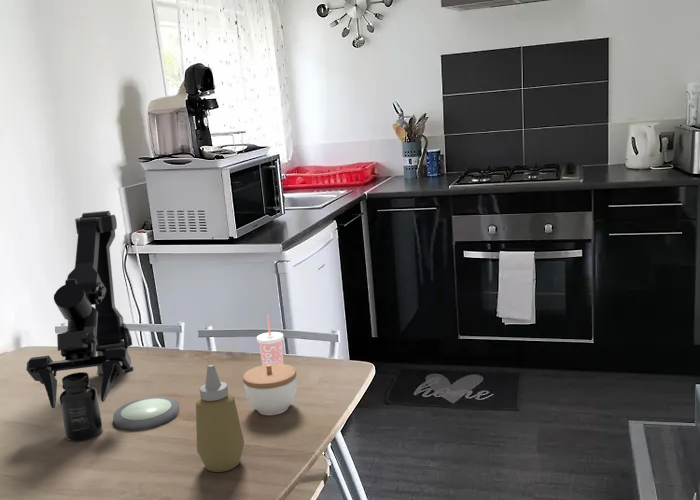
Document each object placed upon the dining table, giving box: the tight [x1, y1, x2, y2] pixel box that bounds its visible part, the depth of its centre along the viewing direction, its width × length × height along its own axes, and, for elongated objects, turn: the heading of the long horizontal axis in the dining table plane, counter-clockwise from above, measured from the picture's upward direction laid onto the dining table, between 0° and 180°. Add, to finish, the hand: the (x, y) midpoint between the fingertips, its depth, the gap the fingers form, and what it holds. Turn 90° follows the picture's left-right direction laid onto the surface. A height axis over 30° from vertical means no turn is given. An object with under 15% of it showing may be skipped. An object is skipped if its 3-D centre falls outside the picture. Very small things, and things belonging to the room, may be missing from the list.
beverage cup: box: [256, 314, 284, 365], centre depth 157 cm, size 6×6×14 cm
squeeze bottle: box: [195, 364, 245, 473], centre depth 116 cm, size 8×8×18 cm
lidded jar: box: [242, 363, 298, 416], centre depth 138 cm, size 11×11×9 cm
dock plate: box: [112, 396, 180, 431], centre depth 141 cm, size 13×13×1 cm
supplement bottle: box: [59, 371, 103, 442], centre depth 133 cm, size 7×7×12 cm
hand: (77, 404), depth 132 cm, fingers open, 9 cm apart
